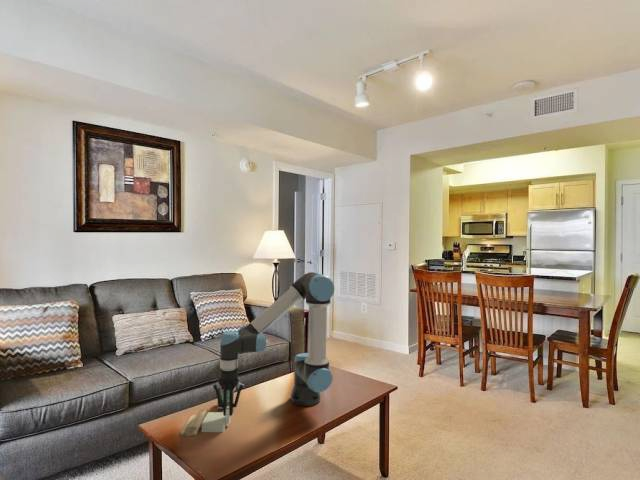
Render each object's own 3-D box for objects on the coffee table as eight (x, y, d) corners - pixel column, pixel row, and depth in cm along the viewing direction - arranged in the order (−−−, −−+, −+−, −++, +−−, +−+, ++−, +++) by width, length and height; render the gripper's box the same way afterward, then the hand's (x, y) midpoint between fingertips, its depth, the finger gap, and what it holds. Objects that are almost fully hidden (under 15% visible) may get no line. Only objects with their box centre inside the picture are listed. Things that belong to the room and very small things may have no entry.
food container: (228, 413, 177) (229, 391, 177) (216, 411, 178) (216, 390, 178) (239, 401, 189) (239, 381, 189) (227, 400, 190) (228, 380, 190)
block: (228, 421, 169) (228, 412, 169) (223, 432, 159) (223, 423, 159) (207, 421, 169) (208, 412, 169) (201, 432, 159) (201, 423, 159)
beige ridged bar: (206, 417, 172) (206, 409, 172) (196, 435, 156) (196, 427, 156) (191, 417, 172) (192, 409, 172) (180, 435, 156) (180, 426, 156)
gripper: (245, 365, 168) (244, 418, 168) (215, 365, 168) (214, 418, 168) (242, 371, 161) (241, 427, 161) (211, 371, 160) (210, 427, 160)
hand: (227, 422), depth 164 cm, fingers closed
